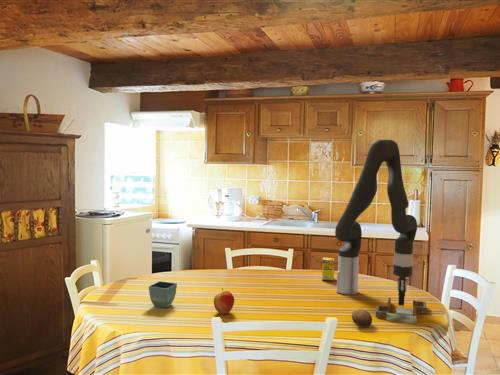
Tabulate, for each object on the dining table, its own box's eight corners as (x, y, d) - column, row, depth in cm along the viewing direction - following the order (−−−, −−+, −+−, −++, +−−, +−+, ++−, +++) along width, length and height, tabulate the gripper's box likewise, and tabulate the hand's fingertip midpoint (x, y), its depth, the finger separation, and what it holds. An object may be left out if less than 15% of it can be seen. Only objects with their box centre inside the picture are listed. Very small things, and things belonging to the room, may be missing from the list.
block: (396, 321, 172) (396, 312, 172) (396, 316, 177) (396, 307, 177) (412, 323, 170) (412, 314, 170) (412, 317, 176) (412, 309, 175)
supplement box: (333, 281, 226) (334, 260, 225) (321, 281, 227) (322, 259, 226) (333, 278, 231) (334, 258, 231) (322, 278, 233) (322, 257, 232)
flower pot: (177, 303, 188) (177, 283, 188) (167, 310, 180) (167, 288, 179) (159, 301, 191) (159, 280, 191) (148, 307, 183) (148, 286, 182)
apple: (226, 318, 172) (226, 292, 172) (209, 314, 177) (209, 289, 176) (238, 312, 179) (238, 287, 178) (221, 308, 183) (221, 284, 183)
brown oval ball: (346, 312, 171) (354, 302, 168) (365, 319, 172) (373, 309, 169) (348, 328, 164) (356, 318, 161) (367, 336, 165) (376, 326, 162)
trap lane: (375, 318, 173) (375, 312, 173) (378, 302, 194) (378, 296, 194) (428, 325, 167) (428, 318, 167) (425, 307, 188) (425, 301, 188)
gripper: (393, 259, 190) (391, 299, 191) (393, 266, 177) (391, 308, 179) (412, 260, 187) (410, 301, 189) (413, 268, 175) (411, 311, 176)
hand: (401, 304), depth 184 cm, fingers closed
